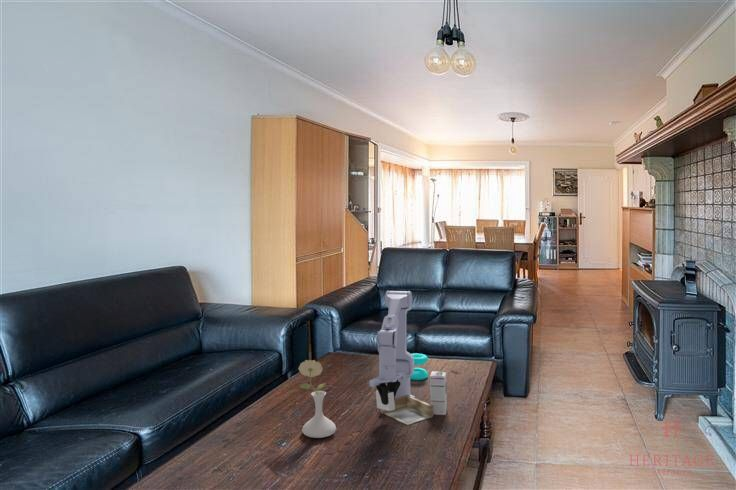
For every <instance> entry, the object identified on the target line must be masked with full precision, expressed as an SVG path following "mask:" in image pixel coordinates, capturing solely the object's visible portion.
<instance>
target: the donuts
mask: <svg viewBox="0 0 736 490" xmlns="http://www.w3.org/2000/svg"><path fill="white" fill-rule="evenodd" d="M410 354H411V355H413V360H414V366H422V365H425V364H426V363H427V362H428V361H429V358H428V356H427V354H423V353H417V352H416V353H414V352H413V353H410ZM428 376H429V373H428V370H426V369H425V368H421V367H414V373H413V375H411V376H410V380H413V381H421V380H425V379H427V378H428Z"/></svg>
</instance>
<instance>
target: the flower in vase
mask: <svg viewBox="0 0 736 490" xmlns="http://www.w3.org/2000/svg"><path fill="white" fill-rule="evenodd" d="M299 364H300V365H299V366H298V368H297V369H298V371H299V372H300V374H301V375H303V376H305V377H309V383H307V382H305V383H302V384H301V385H300V386H299V388H300V389H301V388H302V389H307V390H309V389H310V388H311V387H312V390H313V391H312V392H311V393H310V396H311V397H312V398H313V401H314V405H315V407H314V408H315V412H314V413H315V414H314V415H313V417H312V418H310V419H309V420H308V421H307V422H306V423H305V424H304V425H303V427H302V429H301V432H302V433H303V434H304V435H305V436H306V437H309V438H313V439H323V438H326V437H329V436H331V435H333V434H334V433H335V432H336V430H337V427H336V424H335V422H333V421H332V420H331V419H329V418H328V417H326V416H325V415H324V414H323V403H324V398H325V396H326V395H327V392H326V391H323V390H321V389H323V388H324V387H325V385H326V384H327V382H324V383H320V384H318V385H317V387H316V388H315V387H314V385H313V384H312V378H314V377H318V376H320V375H321V373H322V371H323V370H324V369H323V366H322V364H321V363H320V361H316V360H315V359H313V360H311V359H309V360H308V359H305V360H304V361H302V362H301V363H299Z"/></svg>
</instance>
